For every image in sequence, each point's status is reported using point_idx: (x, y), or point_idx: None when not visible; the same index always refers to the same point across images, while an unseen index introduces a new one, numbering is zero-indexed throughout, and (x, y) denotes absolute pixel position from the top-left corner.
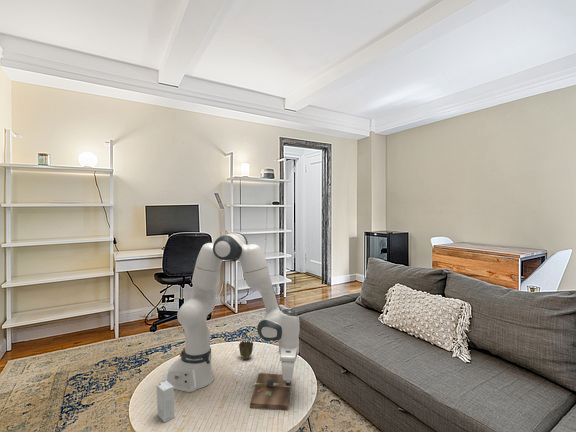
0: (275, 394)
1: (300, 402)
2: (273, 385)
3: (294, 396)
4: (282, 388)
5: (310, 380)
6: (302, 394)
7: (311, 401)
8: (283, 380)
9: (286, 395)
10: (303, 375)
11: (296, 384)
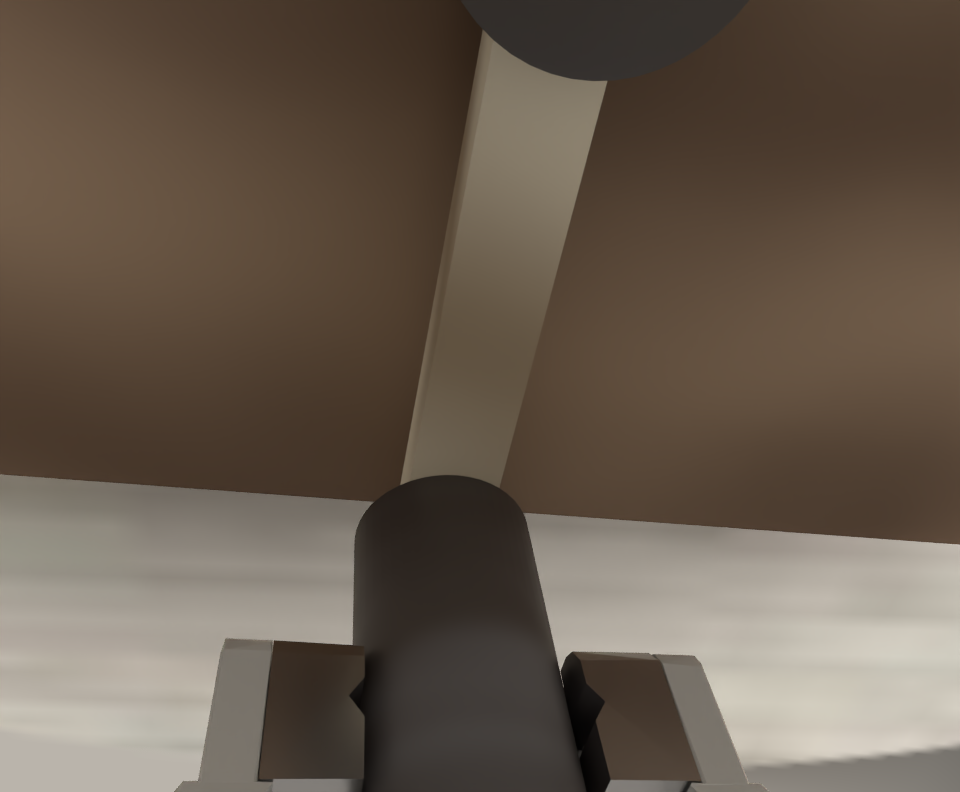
0: (4, 80)
1: (39, 603)
2: (484, 43)
3: (248, 515)
4: (391, 333)
5: (744, 748)
6: (325, 640)
7: (110, 745)
8: (800, 378)
9: (18, 426)
10: (939, 670)
11: (687, 563)
